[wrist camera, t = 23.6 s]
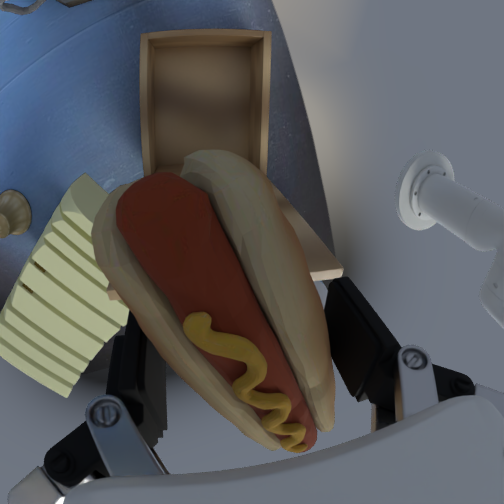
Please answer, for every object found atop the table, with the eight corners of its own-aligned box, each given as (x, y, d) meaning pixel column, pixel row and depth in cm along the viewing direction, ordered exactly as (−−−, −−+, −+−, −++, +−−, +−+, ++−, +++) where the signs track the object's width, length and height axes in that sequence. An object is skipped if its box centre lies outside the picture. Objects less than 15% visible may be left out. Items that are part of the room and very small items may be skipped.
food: (328, 367, 15) (363, 438, 11) (240, 401, 15) (258, 476, 11) (249, 110, 8) (317, 126, 4) (89, 185, 8) (14, 270, 4)
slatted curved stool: (107, 154, 36) (59, 193, 21) (182, 224, 44) (183, 295, 29) (23, 278, 41) (-15, 345, 26) (85, 325, 49) (66, 398, 34)
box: (149, 45, 30) (140, 33, 23) (256, 42, 32) (271, 31, 26) (152, 171, 39) (145, 187, 32) (252, 165, 42) (266, 179, 35)
